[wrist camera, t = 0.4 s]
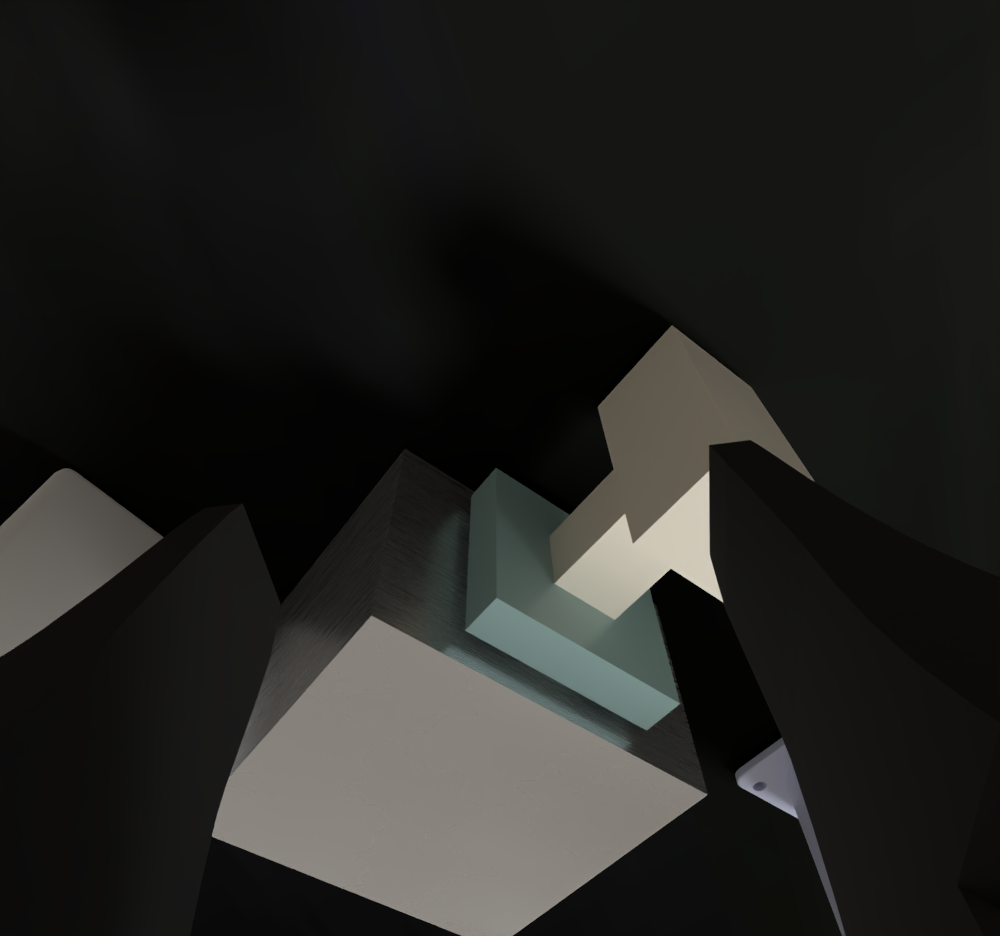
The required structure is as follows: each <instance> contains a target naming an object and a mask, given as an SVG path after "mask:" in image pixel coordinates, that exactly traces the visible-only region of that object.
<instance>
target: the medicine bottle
mask: <svg viewBox="0 0 1000 936" xmlns="http://www.w3.org/2000/svg"><path fill="white" fill-rule="evenodd" d="M162 538H164V537H163V536H161V535H160V534H159V533H157V532H156V531H155V530H153V529H152V528H151V527H149V526H148V525H147V524H145V523H144V522H143V521H141V520H140V519H139V518H137V517H136V516H135V515H133V514H132V513H131V512H129V511H128V510H127V509H125V508H124V507H123V506H121V505H120V504H119V503H117V502H116V501H115V500H113V499H112V498H111V497H109V496H108V495H107V494H105V493H104V492H102V491H101V490H100V489H98V488H97V487H96V486H94V485H93V484H92V483H90V482H89V481H88V480H86V479H85V478H84V477H82V476H81V475H80V474H78V473H77V472H76V471H74V470H72V469H68V468H64V469H62V470H59V471H57V472H55V473H54V474H53V475H52V476H51V477H50V478H49V479H48V480H47V481H46V482H45V483H44V484H43V485H42V486H41V487H40V488H39V489H38V490H37V491H36V492H35V493H34V494H33V495H32V496H31V497H30V498H29V499H28V500H27V501H26V502H25V503H24V504H23V505H22V506H21V507H19V508H18V509H17V510H16V511H15V512H14V513H13V514H12V515H11V516H10V517H9V518H8V519H7V520H6V521H5V522H4V523H3V524H2V525H1V526H0V657H1V656H3V655H4V654H6V653H7V652H9V651H11V650H12V649H14V648H15V647H17V646H18V645H20V644H21V643H23V642H24V641H26V640H27V639H29V638H30V637H32V636H33V635H35V634H36V633H38V632H39V631H41V630H42V629H44V628H45V627H46V626H48V625H49V624H51V623H52V622H53V621H55V620H56V619H57V618H59V617H60V616H61V615H63V614H64V613H66V612H67V611H68V610H70V609H71V608H72V607H74V606H75V605H76V604H78V603H79V602H81V601H82V600H83V599H85V598H86V597H87V596H89V595H90V594H91V593H93V592H94V591H96V590H97V589H98V588H100V587H101V586H102V585H104V584H105V583H106V582H108V581H109V580H110V579H111V578H113V577H114V576H115V575H116V574H118V573H119V572H120V571H122V570H123V569H124V568H125V567H127V566H128V565H129V564H130V563H132V562H133V561H134V560H136V559H137V558H138V557H139V556H141V555H142V554H143V553H144V552H146V551H147V550H148V549H150V548H151V547H152V546H153V545H155V544H156V543H157V542H158V541H160V540H161V539H162Z"/></svg>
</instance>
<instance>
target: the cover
mask: <svg viewBox="0 0 1000 936" xmlns="http://www.w3.org/2000/svg"><path fill="white" fill-rule="evenodd" d="M598 410H599V414H600V418H601V422H602V426H603V430H604V434H605V437H606V441H607V445H608V449H609V453H610V457H611V461H612V465H613V468H614V470H613V471H612V472H611V473H610V474H609V475H608V476H607V477H606V478H605V479H604V480H603V481H602V482H601V483H600V484H599V485H598V486H597V487H596V488H595V489H594V490H593V491H592V492H591V493H590V495H589V496H588V497H587V498H586V499H585V500H584V501H583V502H582V503H581V504H580V505H579V506H578V507H577V508H576V509H575V510H574V511H573V512H572V513H571V514H570V515H569V514H567V513H566V512H564V511H563V510H561V509H560V508H558V507H556V506H555V505H553V504H552V503H550V502H549V501H547V500H546V499H544V498H542V497H541V496H539V495H538V494H536V493H535V492H533V491H532V490H530V489H528V488H527V487H525V486H524V485H522V484H521V483H519V482H518V481H516V480H514V479H513V478H511V477H510V476H508V475H507V474H505V473H504V472H502V471H500V470H499V469H497V468H495V470H494V471H493V472H492V473H491V474H490V475H489V476H488V478H487V479H486V480H485V481H484V482H483V483H482V484H481V486H480V487H479V488H478V489H477V490H476V491H475V492H474V494H473V495H472V496H471V512H470V533H469V555H468V576H467V598H466V620H465V631H467V632H469V633H470V634H472V635H474V636H476V637H478V638H480V639H481V640H483V641H485V642H487V643H489V644H490V645H492V646H494V647H496V648H498V649H499V650H501V651H503V652H505V653H507V654H509V655H510V656H512V657H514V658H516V659H518V660H519V661H521V662H523V663H525V664H527V665H529V666H530V667H532V668H534V669H536V670H538V671H539V672H541V673H543V674H545V675H547V676H549V677H550V678H552V679H554V680H556V681H558V682H559V683H561V684H563V685H565V686H567V687H568V688H570V689H572V690H574V691H576V692H578V693H579V694H581V695H583V696H585V697H587V698H588V699H590V700H592V701H594V702H596V703H598V704H599V705H601V706H603V707H605V708H607V709H608V710H610V711H612V712H614V713H616V714H618V715H619V716H621V717H623V718H625V719H627V720H628V721H630V722H632V723H634V724H636V725H638V726H639V727H641V728H643V729H645V730H648V729H649V728H651V727H652V726H653V725H654V724H656V723H657V722H658V721H659V720H661V719H662V718H663V717H664V716H666V715H667V714H668V713H669V712H670V711H672V710H673V709H674V708H675V707H677V706H678V705H679V704H680V701H679V697H678V694H677V690H676V686H675V682H674V679H673V675H672V671H671V667H670V664H669V660H668V656H667V652H666V649H665V645H664V641H663V637H662V634H661V630H660V626H659V622H658V619H657V615H656V611H655V607H654V604H653V600H652V596H651V592H650V589H649V588H650V587H651V586H652V585H654V584H655V583H656V582H657V581H658V580H659V579H660V578H661V577H662V576H663V575H664V574H666V573H667V572H668V571H669V570H670V569H672V570H674V571H675V572H677V573H679V574H680V575H682V576H683V577H685V578H686V579H688V580H689V581H691V582H692V583H694V584H695V585H697V586H699V587H700V588H702V589H703V590H705V591H706V592H708V593H709V594H711V595H712V596H714V597H716V598H717V599H719V600H720V601H722V602H723V599H722V596H721V593H720V589H719V586H718V583H717V579H716V575H715V572H714V568H713V565H712V561H711V558H710V530H709V445H714V444H722V443H730V442H738V441H746V440H752V441H753V442H755V443H757V444H758V445H760V446H761V447H763V448H764V449H766V450H767V451H769V452H770V453H772V454H773V455H775V456H776V457H778V458H779V459H781V460H782V461H784V462H785V463H787V464H788V465H790V466H791V467H793V468H794V469H796V470H797V471H799V472H800V473H802V474H803V475H805V476H806V477H808V478H809V479H811V480H812V481H814V480H813V478H812V477H811V475H810V474H809V472H808V471H807V469H806V468H805V466H804V465H803V463H802V462H801V461H800V459H799V458H798V456H797V455H796V453H795V452H794V450H793V449H792V447H791V446H790V444H789V443H788V441H787V440H786V438H785V437H784V435H783V434H782V432H781V431H780V429H779V428H778V426H777V425H776V423H775V422H774V420H773V419H772V417H771V416H770V415H769V413H768V412H767V410H766V409H765V407H764V406H763V404H762V403H761V401H760V400H759V398H758V397H757V395H756V394H755V392H754V391H753V389H752V388H751V387H750V386H749V385H748V384H746V383H745V382H744V381H743V380H741V379H740V378H739V377H737V376H736V375H735V374H734V373H732V372H731V371H730V370H729V369H727V368H726V367H725V366H723V365H722V364H721V363H720V362H718V361H717V360H716V359H715V358H713V357H712V356H711V355H709V354H708V353H707V352H706V351H704V350H703V349H702V348H701V347H699V346H698V345H697V344H695V343H694V342H693V341H692V340H690V339H689V338H688V337H687V336H685V335H684V334H683V333H681V332H680V331H679V330H678V329H676V328H675V327H674V326H673V325H672V326H671V327H670V328H669V329H668V330H667V331H666V332H665V333H664V334H663V336H662V337H661V338H660V339H659V340H658V341H657V342H656V343H655V344H654V345H653V347H652V348H651V349H650V350H649V351H648V352H647V353H646V354H645V355H644V356H643V358H642V359H641V360H640V361H639V362H638V363H637V364H636V365H635V366H634V367H633V369H632V370H631V371H630V372H629V373H628V374H627V375H626V376H625V377H624V378H623V380H622V381H621V382H620V383H619V384H618V385H617V386H616V387H615V388H614V389H613V391H612V392H611V393H610V394H609V395H608V396H607V397H606V398H605V399H604V400H603V402H602V403H601V404H600V405H599V406H598ZM814 482H815V481H814Z"/></svg>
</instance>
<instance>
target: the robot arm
mask: <svg viewBox="0 0 1000 936" xmlns="http://www.w3.org/2000/svg"><path fill="white" fill-rule="evenodd" d="M709 530H710V558H711V561H712V565H713V568H714V572H715V575H716V579H717V583H718V586H719V589H720V593H721V596H722V599H723V603H724V606H725V609H726V612H727V614H728V616H729V619H730V621H731V623H732V626H733V628H734V630H735V633H736V635H737V637H738V639H739V642H740V644H741V646H742V649H743V651H744V653H745V655H746V658H747V660H748V662H749V664H750V666H751V669H752V671H753V673H754V675H755V678H756V680H757V682H758V684H759V687H760V689H761V691H762V693H763V696H764V698H765V700H766V702H767V704H768V707H769V709H770V711H771V713H772V716H773V718H774V720H775V722H776V725H777V727H778V729H779V731H780V734H781V736H782V738H781V739H779V740H778V741H776V742H775V743H774V744H772V745H771V746H769V747H768V748H767V749H765V750H764V751H763V752H761V753H760V754H758V755H757V756H756V757H754V758H753V759H752V760H750V761H749V762H747V763H746V764H745V765H743V766H742V767H741V768H739V769H738V770H737V771H736V774H735V776H736V780H737V783H738V785H739V786H740V787H741V788H743V789H745V790H747V791H749V792H751V793H752V794H754V795H756V796H758V797H760V798H761V799H763V800H765V801H767V802H769V803H771V804H772V805H774V806H776V807H778V808H780V809H782V810H783V811H785V812H787V813H789V814H791V815H793V816H794V817H796V818H798V819H799V821H800V824H801V827H802V829H803V832H804V835H805V837H806V840H807V843H808V846H809V848H810V851H811V854H812V856H813V859H814V862H815V864H816V867H817V870H818V872H819V875H820V878H821V880H822V883H823V886H824V888H825V891H826V894H827V896H828V899H829V902H830V904H831V907H832V910H833V912H834V915H835V918H836V920H837V923H838V926H839V928H840V931H841V934H842V936H1000V577H998V576H995V575H993V574H990V573H988V572H985V571H983V570H980V569H978V568H975V567H973V566H971V565H969V564H966V563H964V562H962V561H960V560H957V559H955V558H953V557H951V556H949V555H946V554H944V553H942V552H940V551H937V550H935V549H933V548H931V547H928V546H926V545H924V544H922V543H920V542H918V541H916V540H914V539H912V538H910V537H908V536H906V535H904V534H902V533H901V532H899V531H897V530H895V529H893V528H891V527H890V526H888V525H886V524H884V523H882V522H880V521H879V520H877V519H875V518H873V517H871V516H869V515H868V514H866V513H864V512H862V511H861V510H859V509H857V508H856V507H854V506H852V505H851V504H849V503H847V502H846V501H844V500H842V499H841V498H839V497H837V496H836V495H834V494H833V493H831V492H829V491H828V490H826V489H825V488H823V487H822V486H820V485H818V484H817V483H815V482H814V481H812V480H811V479H809V478H808V477H806V476H805V475H803V474H802V473H800V472H799V471H797V470H796V469H794V468H793V467H791V466H790V465H788V464H787V463H785V462H784V461H782V460H781V459H779V458H778V457H776V456H775V455H773V454H772V453H770V452H769V451H767V450H766V449H764V448H763V447H761V446H760V445H758V444H757V443H755V442H753V441H752V440H746V441H738V442H730V443H722V444H714V445H709ZM279 609H280V601H279V599H278V596H277V593H276V591H275V588H274V585H273V583H272V580H271V577H270V575H269V572H268V569H267V567H266V564H265V561H264V559H263V556H262V553H261V551H260V548H259V545H258V543H257V540H256V537H255V535H254V532H253V529H252V527H251V524H250V521H249V519H248V516H247V514H246V511H245V508H244V506H243V503H241V504H233V505H225V506H217V507H209V508H204V509H203V510H201V511H199V512H198V513H196V514H195V515H193V516H192V517H190V518H189V519H187V520H186V521H185V522H183V523H182V524H181V525H179V526H178V527H177V528H175V529H174V530H173V531H171V532H170V533H169V534H167V535H166V536H165V537H164V538H162V539H161V540H160V541H158V542H157V543H156V544H155V545H153V546H152V547H151V548H150V549H148V550H147V551H146V552H144V553H143V554H142V555H141V556H139V557H138V558H137V559H136V560H134V561H133V562H132V563H130V564H129V565H128V566H127V567H125V568H124V569H123V570H122V571H120V572H119V573H118V574H116V575H115V576H114V577H113V578H111V579H110V580H109V581H108V582H106V583H105V584H104V585H102V586H101V587H100V588H98V589H97V590H96V591H94V592H93V593H91V594H90V595H89V596H87V597H86V598H85V599H83V600H82V601H81V602H79V603H78V604H76V605H75V606H74V607H72V608H71V609H70V610H68V611H67V612H66V613H64V614H63V615H61V616H60V617H59V618H57V619H56V620H55V621H53V622H52V623H51V624H49V625H48V626H46V627H45V628H44V629H42V630H41V631H39V632H38V633H36V634H35V635H33V636H32V637H30V638H29V639H27V640H26V641H24V642H23V643H21V644H20V645H18V646H17V647H15V648H14V649H12V650H11V651H9V652H7V653H6V654H4V655H3V656H1V657H0V936H190V933H191V928H192V923H193V919H194V914H195V909H196V904H197V899H198V894H199V889H200V885H201V880H202V876H203V871H204V867H205V863H206V859H207V855H208V850H209V846H210V842H211V838H212V833H213V829H214V825H215V821H216V817H217V813H218V810H219V807H220V803H221V800H222V797H223V794H224V790H225V787H226V784H227V781H228V779H229V776H230V773H231V770H232V767H233V765H234V762H235V759H236V756H237V753H238V750H239V748H240V745H241V742H242V739H243V736H244V734H245V731H246V728H247V725H248V722H249V719H250V717H251V714H252V711H253V708H254V705H255V702H256V700H257V697H258V694H259V691H260V688H261V685H262V682H263V679H264V676H265V673H266V670H267V667H268V664H269V661H270V657H271V652H272V647H273V642H274V638H275V633H276V627H277V621H278V615H279Z"/></svg>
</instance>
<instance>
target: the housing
mask: <svg viewBox="0 0 1000 936" xmlns="http://www.w3.org/2000/svg"><path fill="white" fill-rule="evenodd" d="M473 494H474V491H472V490H471V489H469V488H468V487H466V486H464V485H463V484H461V483H460V482H458V481H456V480H455V479H453V478H452V477H450V476H448V475H447V474H445V473H444V472H442V471H440V470H439V469H437V468H436V467H434V466H432V465H431V464H429V463H428V462H426V461H424V460H423V459H421V458H420V457H418V456H416V455H415V454H413V453H411V452H410V451H408V450H407V449H404V450H403V452H402V453H401V454H400V455H399V457H398V458H397V459H396V460H395V462H394V463H393V464H392V466H391V467H390V468H389V469H388V471H387V472H386V473H385V474H384V476H383V477H382V478H381V479H380V481H379V482H378V483H377V484H376V486H375V487H374V488H373V490H372V491H371V492H370V493H369V495H368V496H367V497H366V498H365V500H364V501H363V502H362V503H361V505H360V506H359V507H358V508H357V510H356V511H355V512H354V514H353V515H352V516H351V517H350V519H349V520H348V521H347V522H346V524H345V525H344V526H343V527H342V529H341V530H340V531H339V532H338V534H337V535H336V536H335V537H334V539H333V540H332V541H331V543H330V544H329V545H328V546H327V548H326V549H325V550H324V551H323V553H322V554H321V555H320V556H319V558H318V559H317V560H316V561H315V563H314V564H313V565H312V567H311V568H310V569H309V570H308V572H307V573H306V574H305V575H304V577H303V578H302V579H301V580H300V582H299V583H298V584H297V585H296V587H295V588H294V589H293V591H292V592H291V593H290V594H289V596H288V597H287V598H286V599H285V601H284V602H283V603H282V604H281V606H280V609H279V615H278V621H277V627H276V633H275V638H274V642H273V647H272V652H271V657H270V661H269V664H268V667H267V670H266V673H265V676H264V679H263V682H262V685H261V688H260V691H259V694H258V697H257V700H256V702H255V705H254V708H253V711H252V714H251V717H250V719H249V722H248V725H247V728H246V731H245V734H244V736H243V739H242V742H241V745H240V748H239V750H238V753H237V756H236V759H235V762H234V765H233V767H232V770H231V773H230V776H229V779H228V781H227V784H226V787H225V790H224V794H223V797H222V800H221V803H220V807H219V810H218V813H217V817H216V821H215V825H214V829H213V833H212V837H214V838H217V839H219V840H222V841H224V842H227V843H229V844H232V845H235V846H237V847H240V848H242V849H245V850H247V851H250V852H252V853H255V854H257V855H260V856H262V857H265V858H267V859H270V860H272V861H275V862H277V863H280V864H282V865H285V866H287V867H290V868H292V869H295V870H298V871H300V872H303V873H305V874H308V875H310V876H313V877H315V878H318V879H320V880H323V881H325V882H328V883H330V884H333V885H335V886H338V887H340V888H343V889H345V890H348V891H350V892H353V893H355V894H358V895H361V896H363V897H366V898H368V899H371V900H373V901H376V902H378V903H381V904H383V905H386V906H388V907H391V908H393V909H396V910H398V911H401V912H403V913H406V914H408V915H411V916H413V917H416V918H418V919H421V920H424V921H426V922H429V923H431V924H434V925H436V926H439V927H441V928H444V929H446V930H449V931H451V932H454V933H456V934H459V935H461V936H513V935H514V934H515V933H517V932H518V931H520V930H521V929H522V928H524V927H525V926H527V925H528V924H529V923H531V922H532V921H533V920H535V919H536V918H538V917H539V916H540V915H542V914H543V913H545V912H546V911H547V910H549V909H550V908H551V907H553V906H554V905H556V904H557V903H558V902H560V901H561V900H563V899H564V898H565V897H567V896H568V895H569V894H571V893H572V892H574V891H575V890H576V889H578V888H579V887H581V886H582V885H583V884H585V883H586V882H587V881H589V880H590V879H592V878H593V877H594V876H596V875H597V874H599V873H600V872H601V871H603V870H604V869H605V868H607V867H608V866H610V865H611V864H612V863H614V862H615V861H617V860H618V859H619V858H621V857H622V856H623V855H625V854H626V853H628V852H629V851H630V850H632V849H633V848H635V847H636V846H637V845H639V844H640V843H641V842H643V841H644V840H646V839H647V838H648V837H650V836H651V835H653V834H654V833H655V832H657V831H658V830H659V829H661V828H662V827H664V826H665V825H666V824H668V823H669V822H671V821H672V820H673V819H675V818H676V817H677V816H679V815H680V814H682V813H683V812H684V811H686V810H687V809H689V808H690V807H691V806H693V805H694V804H695V803H697V802H698V801H700V800H701V799H702V798H704V797H705V796H707V795H708V794H707V791H706V787H705V783H704V780H703V776H702V772H701V768H700V765H699V761H698V757H697V754H696V750H695V746H694V743H693V739H692V735H691V732H690V728H689V724H688V720H687V717H686V713H685V709H684V706H683V702H682V698H681V695H680V691H679V687H678V684H677V680H676V676H675V672H674V669H673V665H672V661H671V658H670V654H669V650H668V647H667V643H666V639H665V635H664V632H663V628H662V624H661V621H660V617H659V613H658V610H657V606H656V605H655V604H654V603H653V604H654V607H655V611H656V615H657V619H658V622H659V626H660V630H661V634H662V637H663V641H664V645H665V649H666V652H667V656H668V660H669V664H670V667H671V671H672V675H673V679H674V682H675V686H676V690H677V694H678V697H679V701H680V704H679V705H678V706H677V707H675V708H674V709H673V710H672V711H670V712H669V713H668V714H667V715H666V716H664V717H663V718H662V719H661V720H659V721H658V722H657V723H656V724H654V725H653V726H652V727H651V728H649V729H648V730H645V729H643V728H641V727H639V726H638V725H636V724H634V723H632V722H630V721H628V720H627V719H625V718H623V717H621V716H619V715H618V714H616V713H614V712H612V711H610V710H608V709H607V708H605V707H603V706H601V705H599V704H598V703H596V702H594V701H592V700H590V699H588V698H587V697H585V696H583V695H581V694H579V693H578V692H576V691H574V690H572V689H570V688H568V687H567V686H565V685H563V684H561V683H559V682H558V681H556V680H554V679H552V678H550V677H549V676H547V675H545V674H543V673H541V672H539V671H538V670H536V669H534V668H532V667H530V666H529V665H527V664H525V663H523V662H521V661H519V660H518V659H516V658H514V657H512V656H510V655H509V654H507V653H505V652H503V651H501V650H499V649H498V648H496V647H494V646H492V645H490V644H489V643H487V642H485V641H483V640H481V639H480V638H478V637H476V636H474V635H472V634H470V633H469V632H467V631H465V620H466V598H467V576H468V555H469V533H470V512H471V496H472V495H473Z"/></svg>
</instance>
